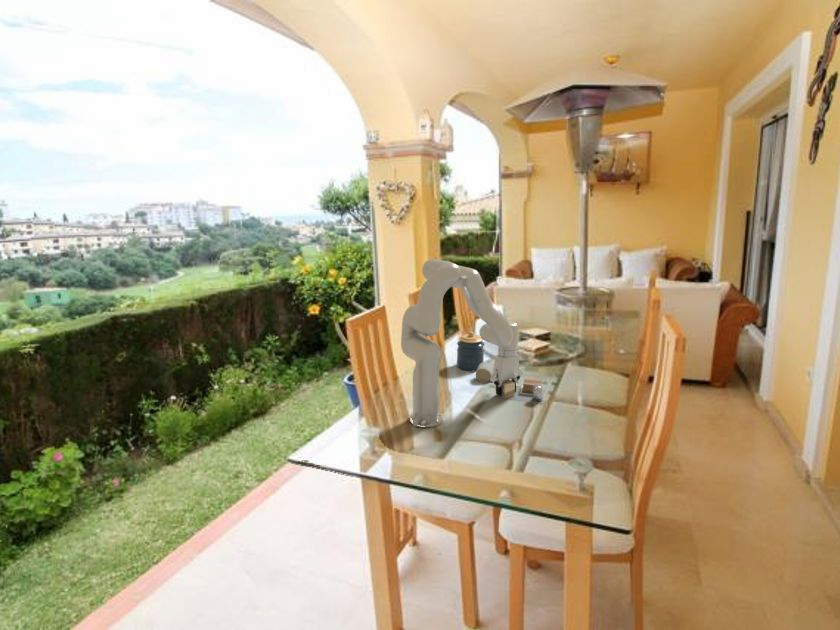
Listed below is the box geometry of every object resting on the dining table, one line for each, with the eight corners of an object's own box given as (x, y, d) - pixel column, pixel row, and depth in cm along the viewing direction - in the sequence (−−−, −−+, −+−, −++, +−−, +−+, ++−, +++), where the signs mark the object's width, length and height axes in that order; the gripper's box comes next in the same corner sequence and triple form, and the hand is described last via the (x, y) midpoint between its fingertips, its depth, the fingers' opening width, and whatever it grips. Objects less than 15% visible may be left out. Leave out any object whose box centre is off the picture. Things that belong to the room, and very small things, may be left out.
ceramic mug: (474, 383, 215) (475, 366, 213) (477, 376, 223) (478, 360, 221) (498, 386, 213) (499, 369, 211) (500, 379, 220) (501, 363, 218)
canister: (483, 372, 228) (484, 336, 223) (455, 370, 230) (456, 335, 225) (484, 362, 240) (485, 328, 236) (457, 361, 242) (458, 327, 238)
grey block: (541, 402, 193) (542, 388, 192) (531, 401, 195) (532, 387, 193) (542, 398, 197) (543, 384, 196) (532, 397, 198) (533, 383, 197)
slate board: (542, 406, 193) (542, 403, 192) (496, 400, 198) (497, 398, 197) (544, 388, 209) (544, 386, 209) (502, 383, 214) (502, 381, 214)
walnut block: (539, 394, 201) (540, 385, 200) (522, 392, 203) (523, 383, 202) (540, 388, 207) (541, 379, 206) (524, 386, 209) (524, 377, 208)
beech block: (514, 396, 199) (515, 382, 198) (504, 398, 197) (505, 384, 195) (506, 391, 204) (507, 378, 202) (497, 394, 201) (497, 380, 200)
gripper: (518, 346, 203) (516, 385, 207) (484, 352, 195) (483, 393, 199) (530, 351, 196) (528, 392, 201) (496, 358, 188) (494, 400, 193)
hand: (505, 392), depth 200 cm, fingers open, 6 cm apart
